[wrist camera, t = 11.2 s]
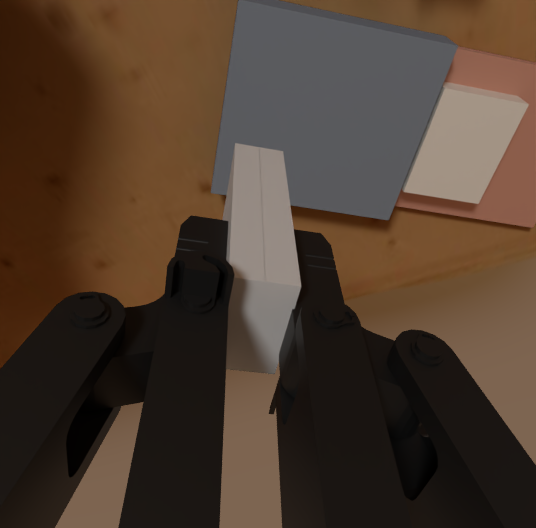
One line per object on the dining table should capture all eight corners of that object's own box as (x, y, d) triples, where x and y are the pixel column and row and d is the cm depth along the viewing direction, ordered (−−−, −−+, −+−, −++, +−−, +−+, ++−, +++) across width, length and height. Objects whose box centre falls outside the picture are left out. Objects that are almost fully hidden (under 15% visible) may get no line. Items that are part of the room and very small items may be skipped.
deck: (212, 176, 45) (210, 192, 42) (239, -8, 36) (238, -1, 34) (381, 203, 47) (388, 220, 45) (445, 36, 38) (458, 45, 36)
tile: (397, 181, 44) (403, 191, 43) (437, 80, 39) (444, 88, 38) (470, 192, 45) (478, 203, 44) (517, 95, 40) (528, 104, 39)
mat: (383, 198, 47) (385, 204, 46) (442, 42, 39) (446, 46, 38) (527, 222, 49) (532, 227, 48) (613, 79, 41) (620, 82, 40)
